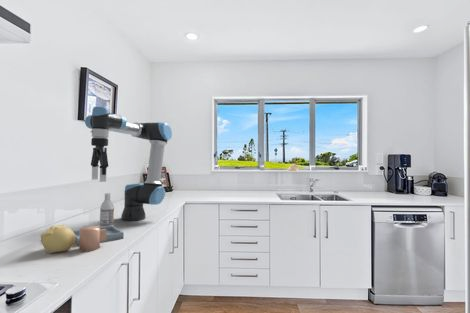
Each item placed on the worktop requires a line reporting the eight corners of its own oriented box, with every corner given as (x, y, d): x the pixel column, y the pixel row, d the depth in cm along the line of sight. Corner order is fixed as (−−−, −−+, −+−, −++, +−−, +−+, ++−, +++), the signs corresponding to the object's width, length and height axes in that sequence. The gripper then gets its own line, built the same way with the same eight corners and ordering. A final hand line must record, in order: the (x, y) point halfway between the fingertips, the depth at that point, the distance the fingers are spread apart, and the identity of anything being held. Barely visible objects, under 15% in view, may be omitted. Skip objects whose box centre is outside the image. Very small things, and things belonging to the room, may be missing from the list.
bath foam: (113, 230, 152) (114, 194, 152) (99, 231, 149) (100, 194, 149) (113, 227, 158) (114, 192, 158) (99, 228, 155) (100, 192, 155)
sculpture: (51, 246, 123) (52, 222, 123) (79, 246, 124) (80, 222, 124) (34, 255, 112) (35, 228, 112) (65, 255, 112) (66, 229, 113)
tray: (112, 231, 149) (112, 225, 149) (123, 238, 137) (123, 232, 137) (70, 237, 136) (70, 231, 136) (78, 246, 124) (78, 239, 124)
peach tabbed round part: (77, 247, 122) (77, 227, 122) (103, 243, 129) (103, 224, 129) (81, 252, 116) (82, 231, 116) (108, 247, 123) (109, 227, 123)
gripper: (85, 138, 143) (83, 178, 143) (99, 136, 125) (98, 182, 125) (100, 139, 148) (99, 178, 148) (116, 137, 130) (115, 182, 130)
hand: (98, 180), depth 136 cm, fingers open, 13 cm apart
